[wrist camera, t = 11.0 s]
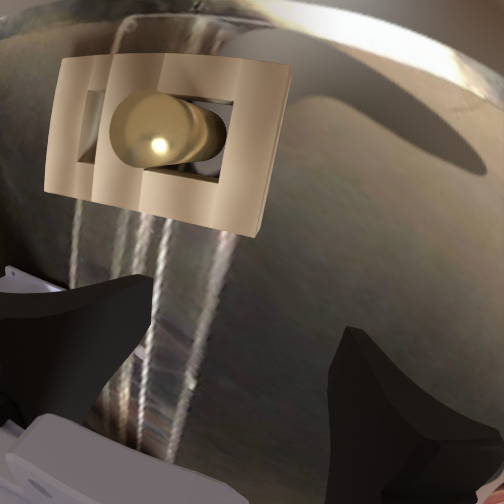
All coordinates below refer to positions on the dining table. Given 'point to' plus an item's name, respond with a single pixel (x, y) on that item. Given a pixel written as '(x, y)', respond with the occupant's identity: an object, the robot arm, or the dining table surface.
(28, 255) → the dining table surface
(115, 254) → the dining table surface
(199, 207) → the holder
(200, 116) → the gold metal cylinder
